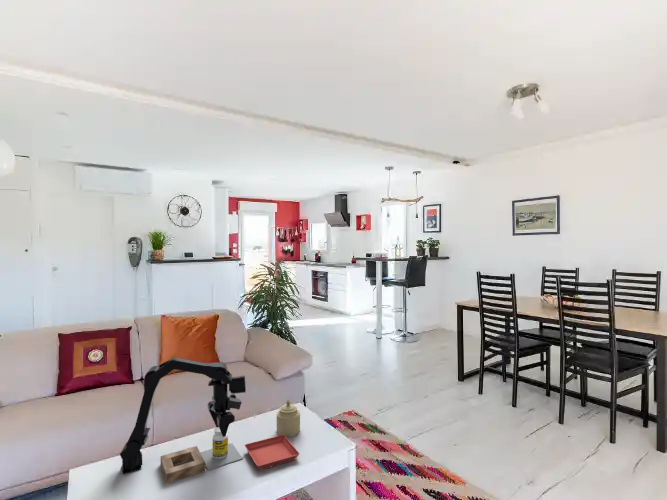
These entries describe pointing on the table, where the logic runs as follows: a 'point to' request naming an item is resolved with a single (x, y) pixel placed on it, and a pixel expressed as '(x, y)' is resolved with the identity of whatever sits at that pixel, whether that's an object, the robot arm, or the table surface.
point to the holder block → (186, 469)
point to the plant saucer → (272, 451)
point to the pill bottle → (220, 444)
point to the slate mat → (214, 463)
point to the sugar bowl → (288, 420)
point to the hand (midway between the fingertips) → (220, 431)
